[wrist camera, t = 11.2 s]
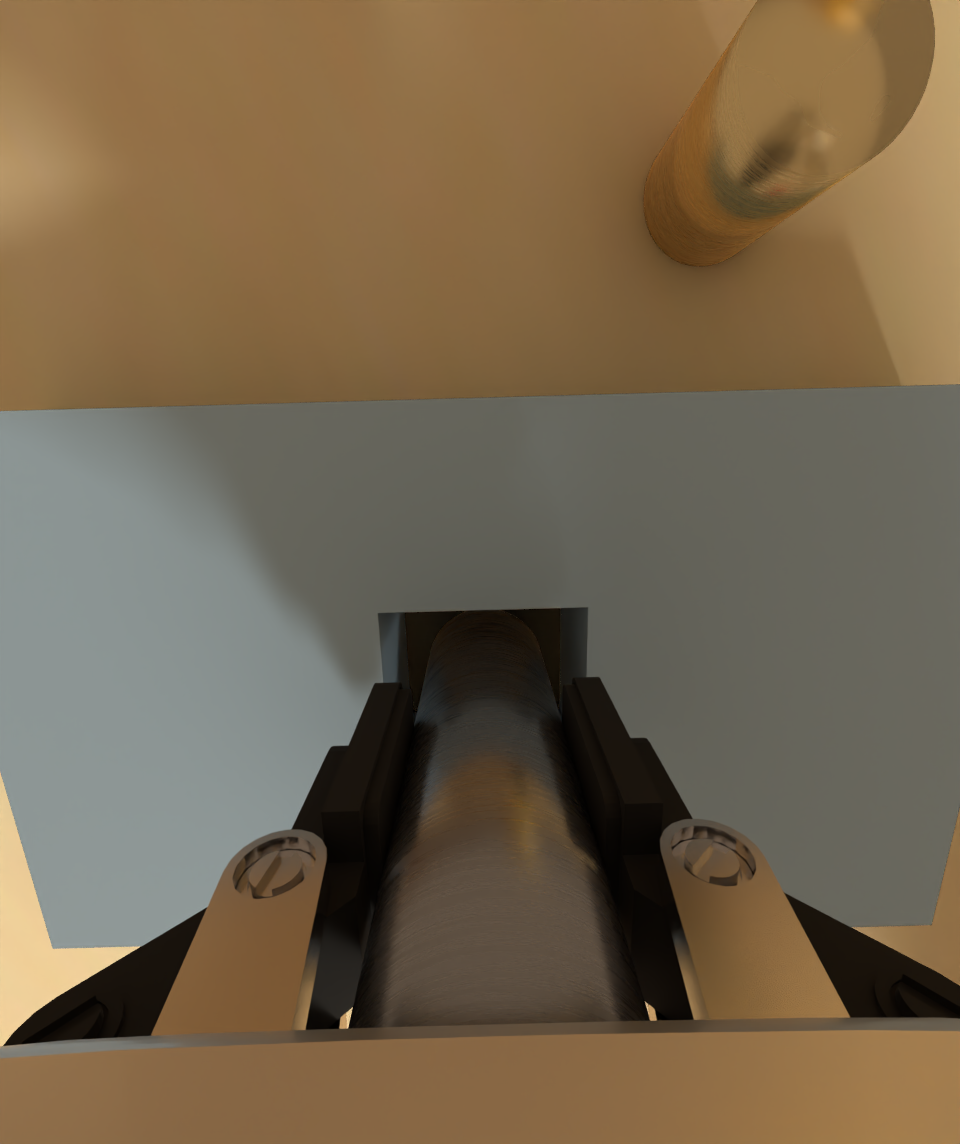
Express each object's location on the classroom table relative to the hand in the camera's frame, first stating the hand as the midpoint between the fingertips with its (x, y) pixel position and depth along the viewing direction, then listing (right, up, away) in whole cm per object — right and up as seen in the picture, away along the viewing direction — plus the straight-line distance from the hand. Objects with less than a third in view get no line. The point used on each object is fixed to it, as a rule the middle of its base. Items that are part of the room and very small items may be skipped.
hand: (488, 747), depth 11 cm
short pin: (+6, +13, +3) cm, 15 cm away
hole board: (0, +1, +6) cm, 6 cm away
